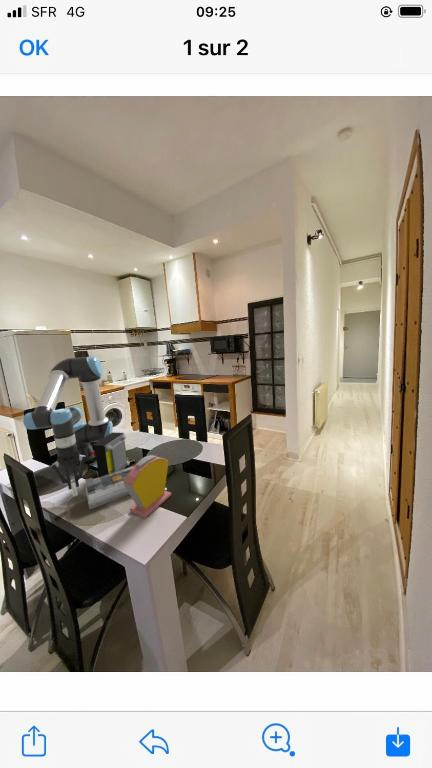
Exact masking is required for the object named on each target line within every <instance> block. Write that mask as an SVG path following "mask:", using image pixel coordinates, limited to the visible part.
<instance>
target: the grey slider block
mask: <svg viewBox="0 0 432 768" xmlns="http://www.w3.org/2000/svg"><path fill="white" fill-rule="evenodd" d="M93 479H94V478H93V477H89V478H86V479H85V480H84V481H85V482H86V483H85V486H86V487H87V492H91V491H94V490H95V486H96V485H99V484H101V480H100V478H99V479H96V480H93Z"/></svg>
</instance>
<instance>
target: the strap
mask: <svg viewBox="0 0 432 768" xmlns="http://www.w3.org/2000/svg"><path fill="white" fill-rule="evenodd" d="M126 477H127V475H125V476H122V477H121V476H120V475H118V476H114V477H112V480H108V481H105V482H102V485H103V487H106V486H109V485H112V484H115V483H118V482H121V481H124V480H125V478H126Z"/></svg>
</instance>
